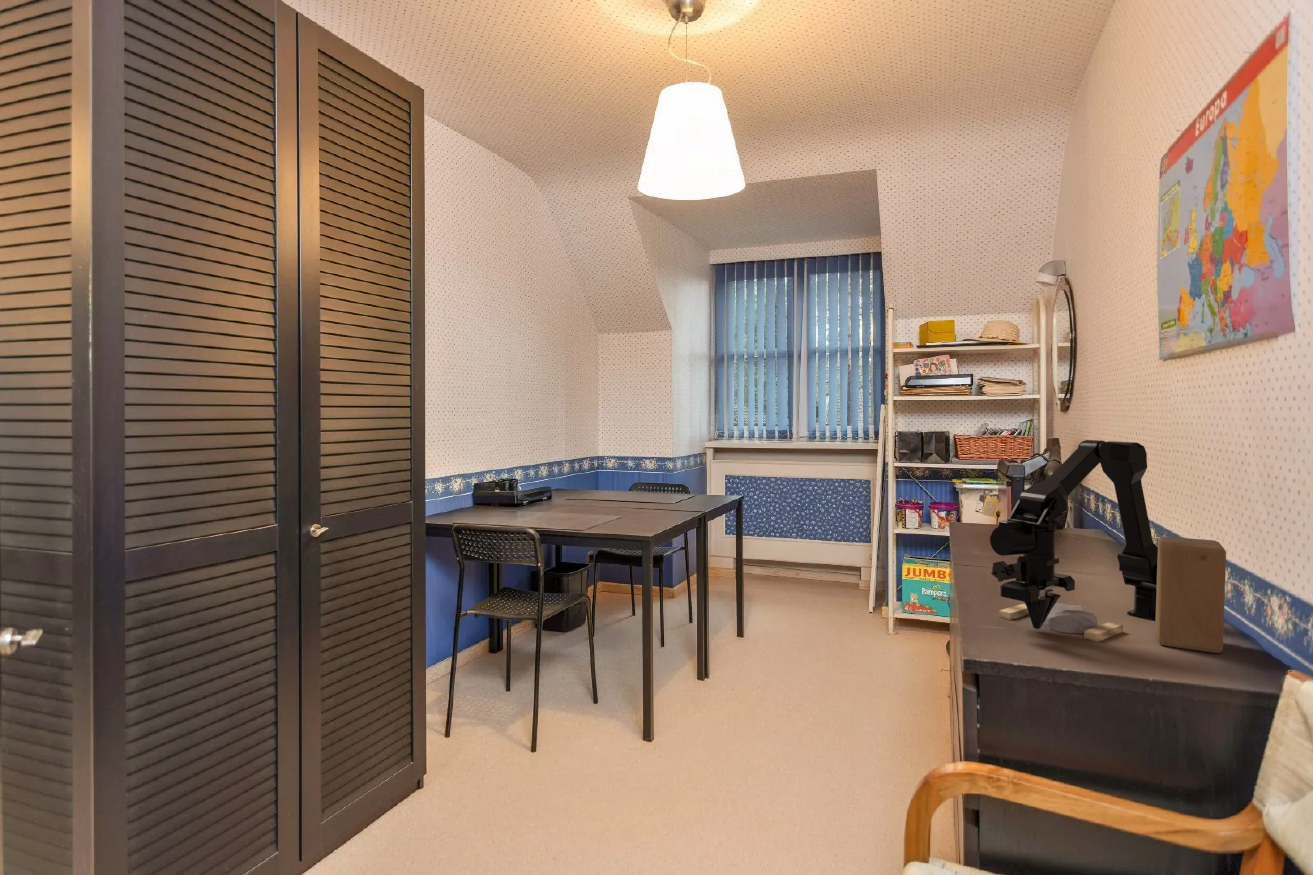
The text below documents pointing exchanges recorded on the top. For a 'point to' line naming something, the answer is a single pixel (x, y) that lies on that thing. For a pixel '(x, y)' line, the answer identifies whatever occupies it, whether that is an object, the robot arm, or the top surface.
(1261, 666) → the top surface
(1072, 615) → the stone block
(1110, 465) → the robot arm
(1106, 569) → the top surface
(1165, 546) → the wooden block
